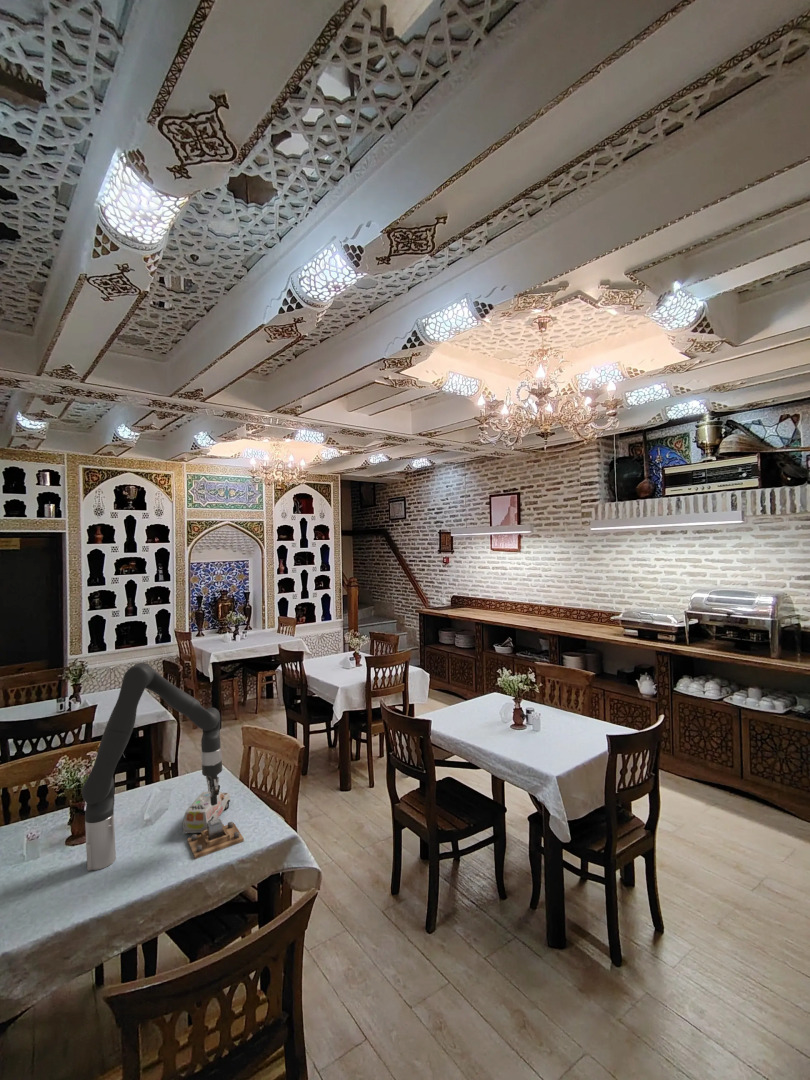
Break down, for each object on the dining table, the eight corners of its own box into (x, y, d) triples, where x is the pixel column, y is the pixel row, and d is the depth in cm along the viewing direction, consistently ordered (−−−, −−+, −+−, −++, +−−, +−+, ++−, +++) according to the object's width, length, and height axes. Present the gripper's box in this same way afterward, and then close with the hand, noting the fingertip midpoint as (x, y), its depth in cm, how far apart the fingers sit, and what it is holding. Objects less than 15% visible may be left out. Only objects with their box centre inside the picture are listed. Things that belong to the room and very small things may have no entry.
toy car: (231, 804, 229) (230, 782, 230) (207, 836, 205) (206, 811, 205) (208, 805, 230) (207, 783, 230) (181, 837, 205) (180, 812, 205)
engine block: (209, 842, 198) (209, 825, 198) (207, 838, 201) (206, 821, 201) (223, 838, 201) (222, 821, 201) (220, 833, 204) (219, 816, 204)
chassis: (195, 859, 190) (194, 850, 190) (187, 841, 202) (187, 833, 202) (243, 841, 200) (243, 833, 200) (233, 825, 212) (233, 817, 212)
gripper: (198, 757, 204) (200, 800, 204) (205, 769, 193) (208, 814, 193) (217, 752, 209) (219, 794, 209) (225, 763, 198) (228, 808, 198)
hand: (213, 804), depth 201 cm, fingers closed
